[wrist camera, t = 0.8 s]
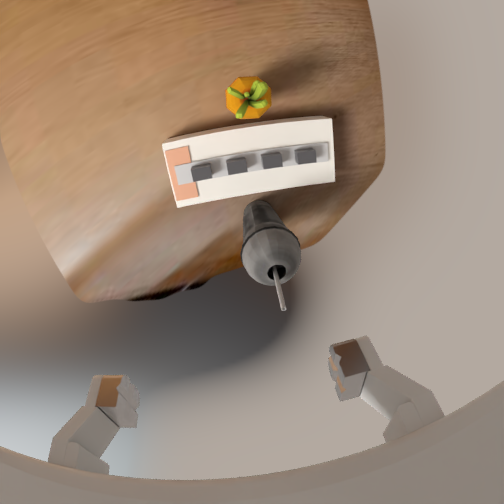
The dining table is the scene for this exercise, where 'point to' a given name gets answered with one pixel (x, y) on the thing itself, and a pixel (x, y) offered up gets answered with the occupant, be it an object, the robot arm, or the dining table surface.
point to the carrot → (248, 97)
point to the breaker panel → (250, 159)
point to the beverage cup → (268, 247)
